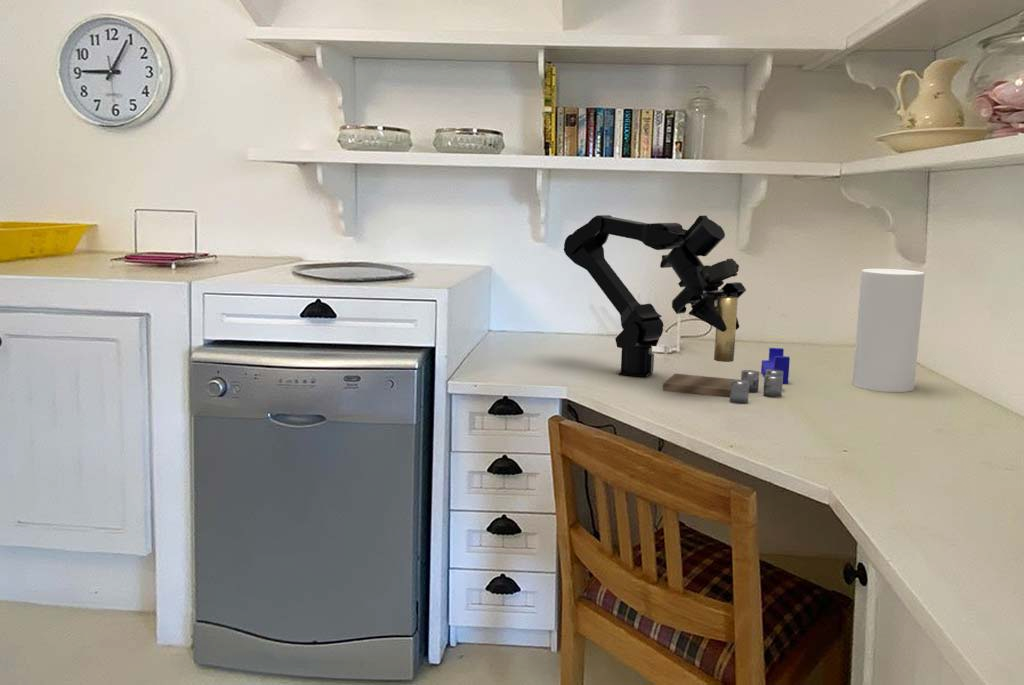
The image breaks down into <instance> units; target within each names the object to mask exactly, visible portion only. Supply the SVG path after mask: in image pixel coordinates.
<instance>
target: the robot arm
mask: <svg viewBox="0 0 1024 685" xmlns="http://www.w3.org/2000/svg"><path fill="white" fill-rule="evenodd" d="M725 233H726V232H725V231H724V228H723V227H722V226H721V225H720V224H719V225H718V224H717V223H716V222H715V221H714V220H712V219H709V218H708V216H707V215H699V216H698V217H697V218H696V220H695V221H694V222H693V224H691V226H690V227H689V228H688V229H684V227H683V225H682V224H680V223H678V222H661V223H660V222H657V223H649V222H648V223H646V222H642V221H638V220H636V221H635V220H631V219H625V218H621V217H620V218H619V217H614V216H611V215H610V214H607V215H606V214H605V215H604V214H603V215H602V214H601V215H595V216H594V217H592V218H591V219H590V220H589V221H588V222H587V223H585V224H584V225H582V226H580V227H579V228H577V229H576V230H575V231H574V232H573V233H571V234H569V235H567V236H566V238H565V240H564V244H563V252H564V255H565V256H566V257H567V258H568V259H570V260H571V261H572V262H573V263H574V264H575V265H577V266H579V267H581V268H583V269H584V270H585V271H587V272H588V274H589V275H590V277H591V278H593V280H594V281H595V283H596V284H597V286H598V287H599V288H600V289H601V291H602V292H603V294H604V295H605V296H606V298H607V299H608V300H609V302H610V303H611V304H612V306H613V307H614V308H615V310H616V311H617V312H618V313H619V316H620V325H621V328H622V331H621V332H619V334H618V335H617V336H616V337H615V344H616V347H617V348H619V349H621V359H620V360H621V361H620V371H618V375H622V376H633V377H641V378H642V377H643V378H644V377H645V378H647V377H649V376H650V375H651V374H652V373H653V371H654V366H655V365H654V364H655V353H653V347H657V345H658V343H659V340H660V338H661V337H662V335H663V332H664V322H663V320H662V315H661V314H659V313H658V312H657V310H656V308H655V307H654V305H652V303H643V304H642V303H640V302H638V300H637V299H636V297H635V296H634V295H633V294H632V292H631V291H630V290H629V288H628V287H627V286H626V284H625V283H624V282H623V281H622V280H621V278H620V277H619V276H618V275H617V273H616V271H615V270H614V269H613V268H612V266H611V265H610V264H609V262H608V261H607V260H606V259H605V258H606V257H605V249H604V245H605V244H606V242H607V241H608V239H609V236H611V235H612V236H617V237H621V238H626V239H631V240H636V241H640V242H641V243H643V245H645V246H646V247H648V248H651V249H653V250H656V251H665V250H670V251H669V253H668V254H662V255H661V261H660V265H659V267H660V268H661V269H664V268H665V269H666V268H667V269H668V268H672V270H673V271H674V273H675V274H676V277H678V278H679V280H680V281H679V282H678V283H677V285H678V286H679V287H680V288H682V290H681V291H680V292H679V293H678V294H677V295H676V296H675V297H674V298H673V299H672V301H671V308H672V309H673V311H674V312H675V314H677V315H678V314H685V313H686V312H687V307H686V306H687V305H689V304H690V307H691V310H690V311H689V312H688V315H689V316H693V317H695V318H697V319H699V320H701V321H702V322H704V323H707V324H708V325H710V326H712V327H714V328H715V329H716V328H717V329H719V330H720V331H722V332H724V331H726V330H727V327H726V325H725V323H724V321H723V320H722V318H721V316H720V314H719V313H718V311H717V301H718V297H720V296H729V297H737V298H738V299H739V298H740V297H741V296H742V295H744V294H745V292H746V291H747V288H745V286H744V285H743V283H742V282H739V281H738V282H737V281H735V282H727V283H725V282H724V281H725V280H727V279H730V278H732V277H736V276H738V273H739V270H740V269H739V267H740V265H739V264H738V263H737V262H736V260H734V259H733V258H726V260H722V261H719V262H716V263H714V264H712V265H709V264H708V265H704V264H703V262H702V260H701V259H700V258H699V257H707V256H708V255H709V254H710V253H711V252H712V251H713V250H714V249H715V248H716V246H718V244H720V243H721V242H722V240H724V239H725V236H726V234H725ZM724 283H725V284H724ZM723 285H724V286H723ZM719 287H721V288H720V289H719ZM739 328H740V324H739V320H738V317H737V318H736V331H737V330H738V329H739Z"/></svg>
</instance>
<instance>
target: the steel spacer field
mask: <svg viewBox="0 0 1024 685" xmlns="http://www.w3.org/2000/svg"><path fill="white" fill-rule="evenodd" d="M740 377H741V378H740V379H738V380H731V386H730V397H729V402H730V403H734V404H748V403H749V395H750V394H749V393H758V392H759V382H760V371H757V370H753V369H752V370H751V369H746V370H744V369H743V370H741V376H740ZM763 378H764V379H763V393H762V394H763V396H764V397H768V398H781V397H782V394H783V371H782V370H777V369H767V370H766V373H765V376H764V377H763Z"/></svg>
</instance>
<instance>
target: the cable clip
mask: <svg viewBox="0 0 1024 685" xmlns="http://www.w3.org/2000/svg"><path fill="white" fill-rule="evenodd" d="M784 350H785V349H784V348H781V347H769V348H768V359H767V360H765V359H762V360H761V365H760V366H761V367H760V368H761V369H760V373H761V375H762V377H763V378H764V376H765V373H766V370H767V369H777V370H782V371H783V384H784V385H788V384H789V374H790V373H789V372H790V362H791V361H790V360H791V358H790V356H784ZM783 384H782V385H783Z"/></svg>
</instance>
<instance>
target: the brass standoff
mask: <svg viewBox="0 0 1024 685" xmlns="http://www.w3.org/2000/svg"><path fill="white" fill-rule="evenodd" d="M738 300H739V298H737V297H729V296H720V297H718V301H717V311H718V313H719V314H720V316H721V318H722V320H723V321H724V323H725V325H726V327H727V330H726V331H724V332H722V331H720V330H719V329H717V328H715V337H714V338H715V339H714V348H713V349H714V351H713V352H714V353H713V360H714V361H716V362H723V363H724V362H725V363H731V362H734V360H735V349H736V348H735V346H736V331H737V330H736V318H737V319H738V317H737V316H738Z"/></svg>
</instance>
